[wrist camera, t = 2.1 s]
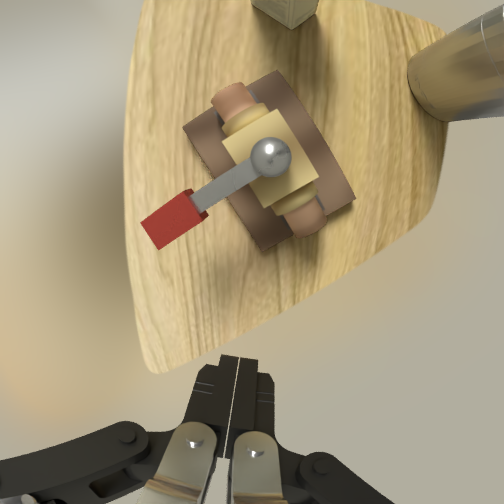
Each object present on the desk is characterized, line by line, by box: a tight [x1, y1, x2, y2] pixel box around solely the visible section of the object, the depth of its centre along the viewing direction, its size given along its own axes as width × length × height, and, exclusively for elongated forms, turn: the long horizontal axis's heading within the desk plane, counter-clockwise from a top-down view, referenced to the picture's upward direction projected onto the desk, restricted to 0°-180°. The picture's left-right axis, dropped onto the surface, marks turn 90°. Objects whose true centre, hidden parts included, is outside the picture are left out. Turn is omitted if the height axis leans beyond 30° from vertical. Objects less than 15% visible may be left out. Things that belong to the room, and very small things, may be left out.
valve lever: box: [141, 137, 292, 250], centre depth 18 cm, size 11×3×2 cm, turn 122°
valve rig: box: [182, 70, 356, 252], centre depth 23 cm, size 15×11×8 cm
